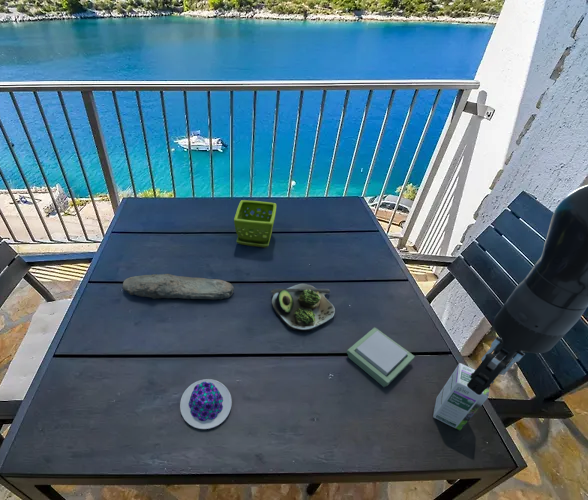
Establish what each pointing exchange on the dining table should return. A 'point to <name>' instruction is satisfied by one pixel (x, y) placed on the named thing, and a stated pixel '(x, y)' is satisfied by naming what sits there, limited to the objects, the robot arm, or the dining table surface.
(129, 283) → the elongated rock
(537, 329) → the robot arm
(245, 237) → the flower pot
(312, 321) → the salad plate
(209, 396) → the pudding
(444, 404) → the syrup box
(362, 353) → the pan
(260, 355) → the dining table surface
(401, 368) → the scale
